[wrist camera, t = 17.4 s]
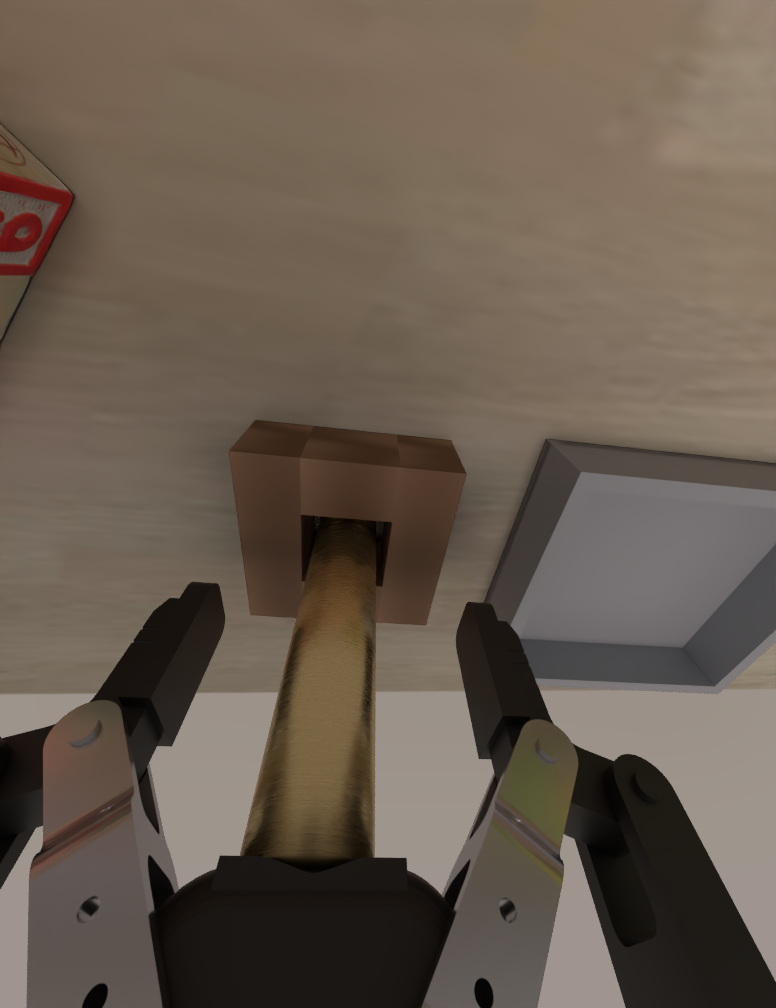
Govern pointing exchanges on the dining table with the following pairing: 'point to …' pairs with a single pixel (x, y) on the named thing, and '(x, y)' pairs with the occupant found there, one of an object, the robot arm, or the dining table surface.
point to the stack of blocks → (25, 219)
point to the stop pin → (324, 714)
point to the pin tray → (641, 569)
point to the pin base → (343, 510)
